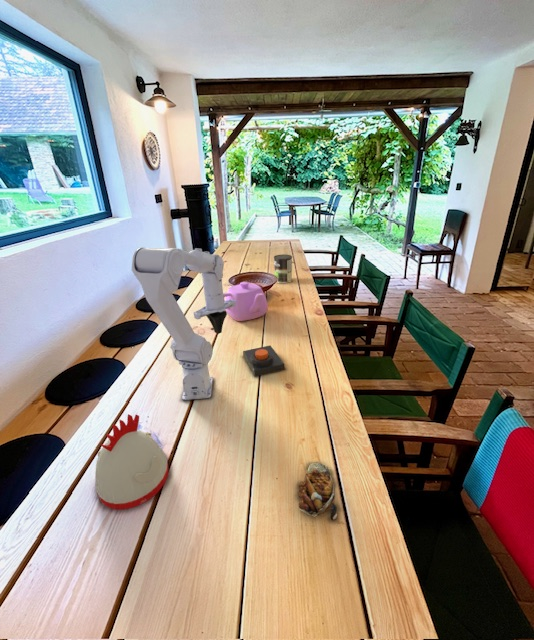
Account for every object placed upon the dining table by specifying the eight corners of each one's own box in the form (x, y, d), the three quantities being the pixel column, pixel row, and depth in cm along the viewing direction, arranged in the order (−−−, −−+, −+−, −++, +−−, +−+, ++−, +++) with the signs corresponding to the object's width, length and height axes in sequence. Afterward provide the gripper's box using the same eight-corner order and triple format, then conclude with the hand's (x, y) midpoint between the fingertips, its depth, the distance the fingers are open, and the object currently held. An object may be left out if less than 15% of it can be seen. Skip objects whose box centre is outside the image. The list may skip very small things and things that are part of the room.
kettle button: (269, 358, 102) (269, 353, 101) (257, 361, 100) (257, 356, 100) (265, 352, 105) (265, 348, 104) (253, 355, 104) (253, 350, 103)
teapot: (213, 315, 144) (209, 283, 137) (254, 305, 153) (252, 274, 147) (236, 334, 126) (232, 298, 119) (281, 321, 135) (280, 287, 129)
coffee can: (279, 284, 180) (278, 259, 174) (271, 279, 189) (270, 255, 183) (295, 281, 184) (295, 257, 178) (286, 276, 192) (286, 253, 187)
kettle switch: (284, 369, 102) (284, 358, 100) (254, 376, 99) (254, 365, 98) (270, 350, 113) (270, 340, 112) (243, 356, 110) (242, 346, 109)
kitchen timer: (182, 467, 69) (171, 412, 63) (128, 522, 59) (108, 462, 52) (139, 443, 76) (124, 392, 70) (83, 489, 65) (61, 433, 59)
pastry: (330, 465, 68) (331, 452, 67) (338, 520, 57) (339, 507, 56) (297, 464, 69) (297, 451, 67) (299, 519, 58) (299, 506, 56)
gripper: (200, 302, 92) (206, 344, 98) (240, 289, 101) (243, 328, 106) (187, 296, 97) (193, 337, 102) (226, 285, 106) (230, 322, 111)
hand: (218, 332), depth 105 cm, fingers closed
